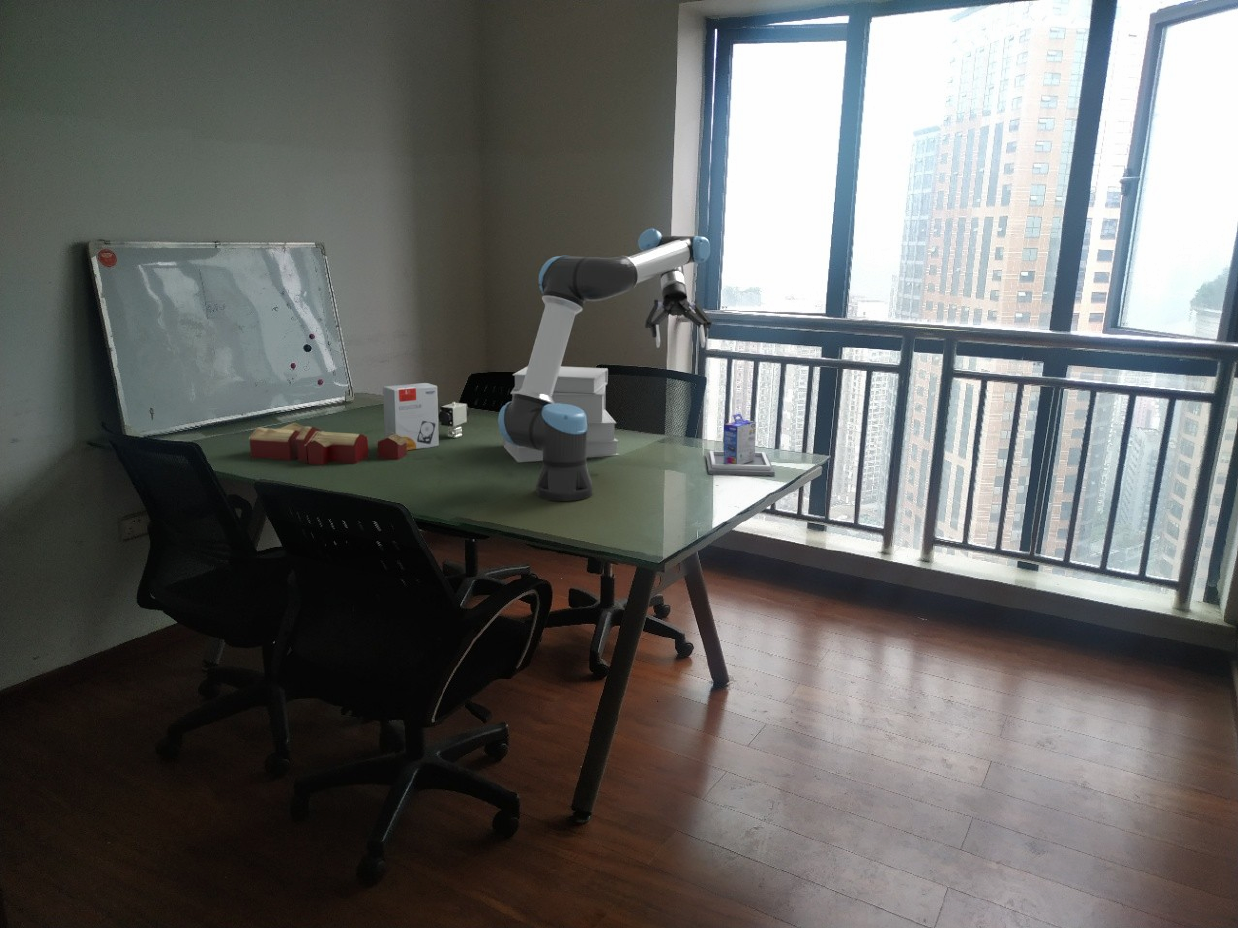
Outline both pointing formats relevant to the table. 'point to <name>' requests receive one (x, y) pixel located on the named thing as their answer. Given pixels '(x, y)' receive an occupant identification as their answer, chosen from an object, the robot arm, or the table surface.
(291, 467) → the table surface
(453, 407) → the pneumatic valve
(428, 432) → the hard drive box
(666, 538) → the table surface
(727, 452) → the ink cartridge box
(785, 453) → the table surface
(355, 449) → the toy houses
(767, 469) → the dock board
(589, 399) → the book stack
